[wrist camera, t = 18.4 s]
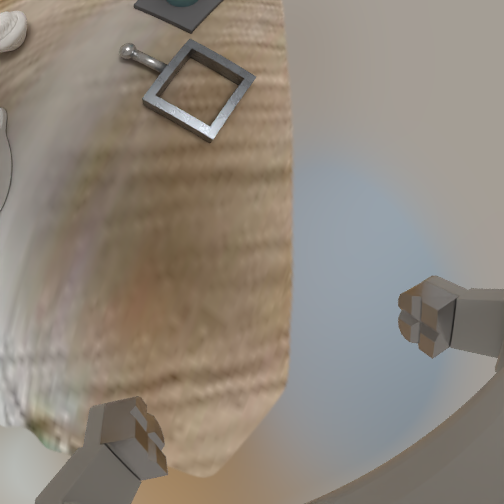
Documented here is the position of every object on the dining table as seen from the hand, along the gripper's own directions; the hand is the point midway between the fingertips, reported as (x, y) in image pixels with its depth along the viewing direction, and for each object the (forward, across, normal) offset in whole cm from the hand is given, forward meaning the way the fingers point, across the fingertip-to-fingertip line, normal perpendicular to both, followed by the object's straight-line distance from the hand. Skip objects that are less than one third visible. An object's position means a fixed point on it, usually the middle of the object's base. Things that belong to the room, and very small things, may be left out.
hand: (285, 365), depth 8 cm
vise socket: (+29, -2, -16) cm, 33 cm away
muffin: (+30, +18, -32) cm, 47 cm away
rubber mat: (+30, -6, -29) cm, 42 cm away
